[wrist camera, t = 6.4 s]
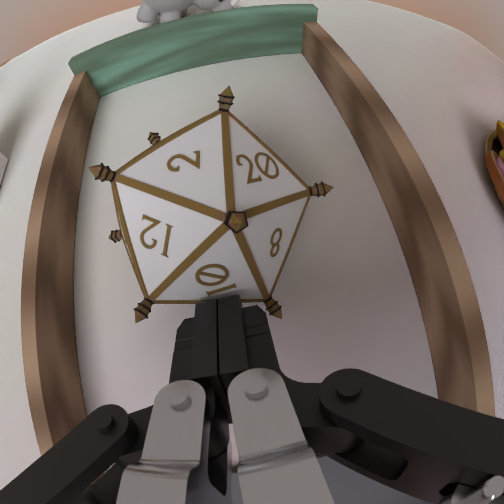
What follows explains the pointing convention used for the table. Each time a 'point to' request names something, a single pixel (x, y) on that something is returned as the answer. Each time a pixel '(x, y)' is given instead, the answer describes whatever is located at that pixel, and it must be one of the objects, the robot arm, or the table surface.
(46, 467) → the robot arm
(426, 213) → the walnut track
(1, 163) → the medicine bottle
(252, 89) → the table surface
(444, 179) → the table surface
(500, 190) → the toy sandwich meal
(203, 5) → the toy rhinoceros
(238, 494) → the trap pads
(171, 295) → the game die
